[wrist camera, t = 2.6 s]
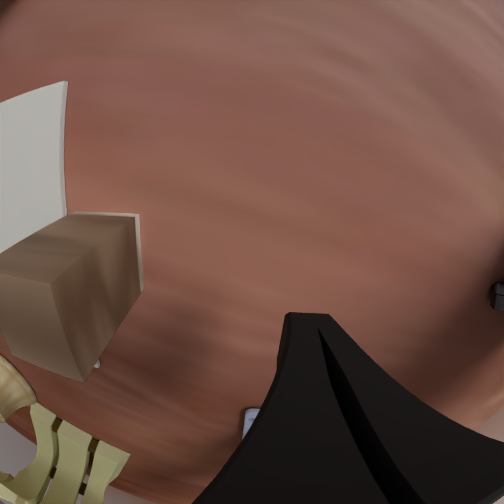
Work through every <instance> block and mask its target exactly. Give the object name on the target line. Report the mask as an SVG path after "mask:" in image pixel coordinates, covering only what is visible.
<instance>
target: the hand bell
mask: <svg viewBox="0 0 504 504" xmlns="http://www.w3.org/2000/svg"><path fill="white" fill-rule="evenodd" d="M36 403H37V398H36V395H35V393H34V391H33V390H32V388H31V386H30V385H29V384H28V382H27V381H26V380H25V378H24V377H23V376H22V375H21V374H20V373H19V372H18V371H17V370H16V369H15V368H14V367H13V365H11V364H10V363H9V362H8V361H7V360H6V359H5V358H4V357H2V356H1V355H0V422H1V423H4V422H5V421H6V420H7V419H8V418H9V416H10V415H11V414H12V413H13V412H14V411H16V410H17V409H19V408H21V407H24V406H31V405H34V404H36Z"/></svg>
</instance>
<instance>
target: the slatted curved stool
mask: <svg viewBox="0 0 504 504" xmlns="http://www.w3.org/2000/svg"><path fill="white" fill-rule="evenodd" d="M30 415H31V418H32V422H33V426H34V429H35V433H36V439H37V453H36V457H35V458H34V460H33V461H32V462H31V463H30V464H29V465H28V466H27V467H26V468H24V469H23V470H21V471H19V472H18V474H17V475H16V477H15V478H14V477H13V476H12V475H11V474H6V473H3V472H0V498H2V499H4V500H8V501H10V502H12V503H14V504H75V503H76V500H77V497H78V494H81V495H83V499H82V502H81V504H103V497H104V491H105V488H106V487H107V485H108V484H109V483H110V482H111V481H113V480H114V479H115V478H116V477H117V476H118V475H119V474H120V472H121V470H122V468H123V467H124V465H125V463H126V462H127V460H128V458H129V456H130V455H131V454H130V453H127V452H125V451H123V450H120V449H118V448H116V447H114V446H112V445H109V444H107V443H105V442H103V441H101V440H100V441H99V442H98V441H96V440H94V439H92V436H91V435H90V434H88V433H86V432H84V431H82V430H80V429H79V428H77V427H75V426H73V425H72V424H70V423H68V422H67V421H65V420H63V421H61V420H59V419H57V417H56V415H55V414H54V413H52V412H51V411H49V410H47V409H46V408H44V407H43V406H42V405H40V404H39V403H36V404H34V405H31V411H30ZM90 453H92V454H94V460H93V465H92V469H91V473H90V477H89V481H88V484H85V483H83V480H84V477H85V474H86V471H87V468H88V464H89V457H90ZM58 459H59V461H58ZM57 462H58V467H57V468H55V467H56V465H57ZM51 478H52V479H53V480H52V483H51V485H50V487H49V490H48V492H47V494H46V496H45V497H44V494H45V492H46V489H47V487H48V484H49V482H50V479H51ZM43 497H44V499H43Z"/></svg>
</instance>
